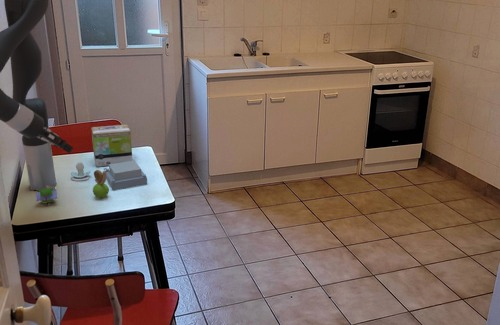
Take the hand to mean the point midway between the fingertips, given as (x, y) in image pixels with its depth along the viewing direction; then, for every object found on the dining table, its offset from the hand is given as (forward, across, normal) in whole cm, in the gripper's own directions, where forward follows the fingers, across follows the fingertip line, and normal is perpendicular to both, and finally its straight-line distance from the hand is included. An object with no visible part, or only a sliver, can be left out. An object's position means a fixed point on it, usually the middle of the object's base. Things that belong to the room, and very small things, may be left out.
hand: (64, 147), depth 159 cm
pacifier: (+26, +22, +5) cm, 34 cm away
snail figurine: (+24, 0, +8) cm, 25 cm away
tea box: (+39, +28, -8) cm, 49 cm away
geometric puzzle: (+12, +9, +19) cm, 24 cm away
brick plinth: (+34, +7, -2) cm, 34 cm away
